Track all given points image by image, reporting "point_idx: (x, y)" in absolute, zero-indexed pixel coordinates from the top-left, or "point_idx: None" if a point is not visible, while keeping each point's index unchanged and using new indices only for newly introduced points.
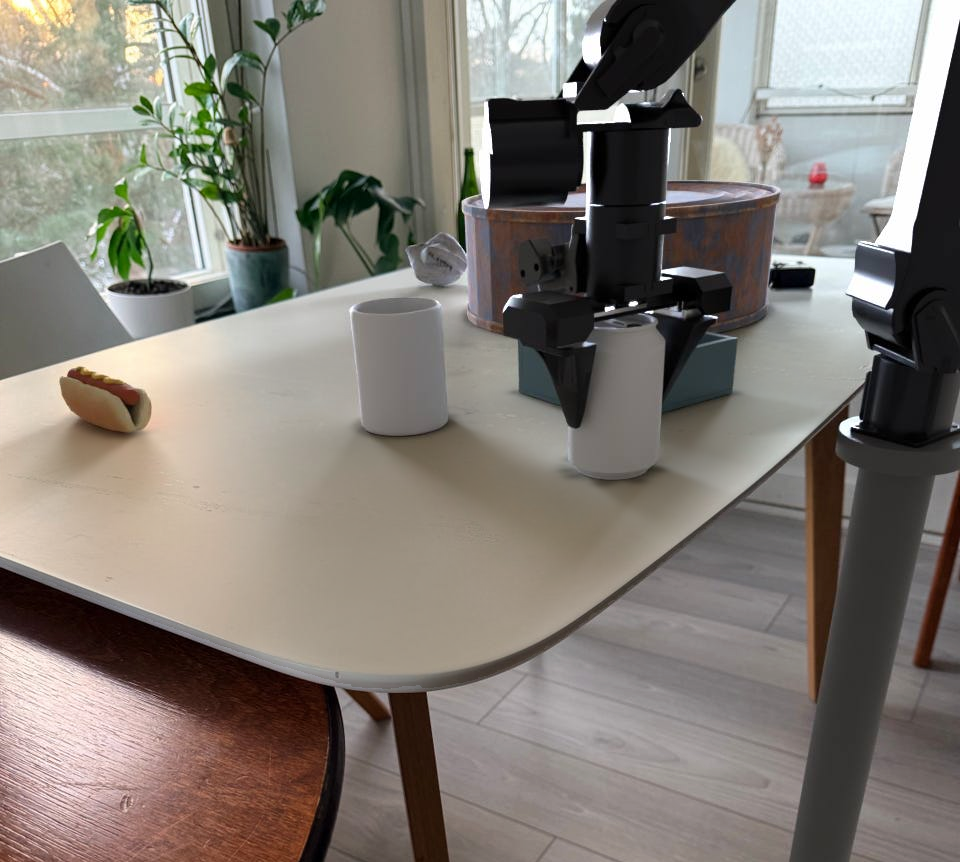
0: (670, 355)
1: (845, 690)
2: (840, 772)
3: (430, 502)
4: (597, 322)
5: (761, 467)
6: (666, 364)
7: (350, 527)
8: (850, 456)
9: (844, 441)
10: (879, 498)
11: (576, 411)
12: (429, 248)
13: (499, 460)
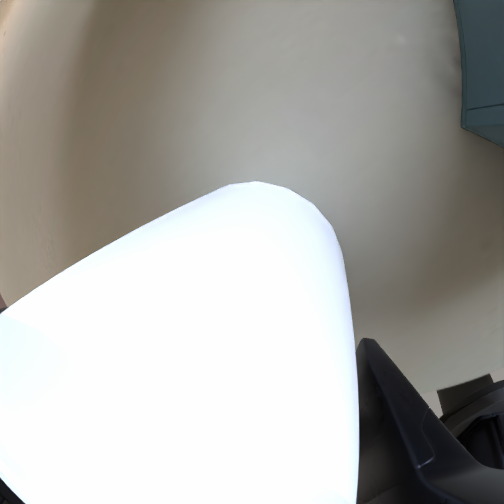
0: (358, 477)
1: None
2: None
3: (43, 169)
4: (62, 482)
5: None
6: (359, 451)
7: (6, 173)
8: (447, 418)
9: (460, 418)
10: (443, 401)
11: None
12: None
13: (152, 88)
